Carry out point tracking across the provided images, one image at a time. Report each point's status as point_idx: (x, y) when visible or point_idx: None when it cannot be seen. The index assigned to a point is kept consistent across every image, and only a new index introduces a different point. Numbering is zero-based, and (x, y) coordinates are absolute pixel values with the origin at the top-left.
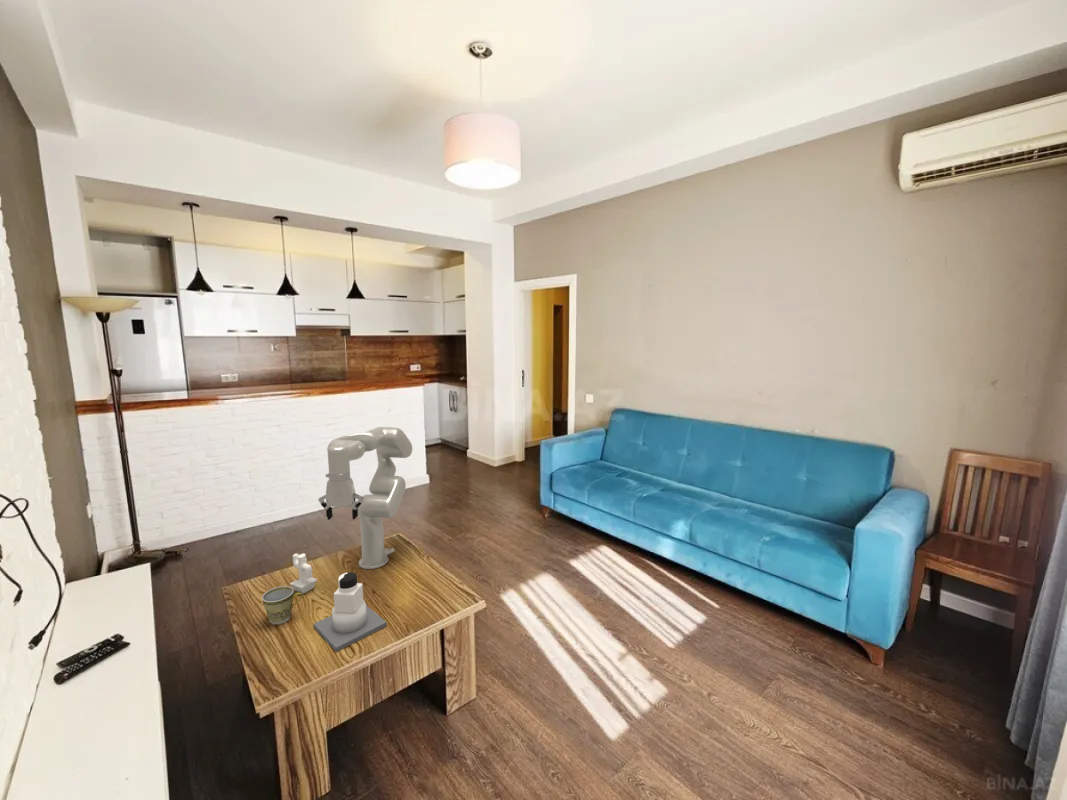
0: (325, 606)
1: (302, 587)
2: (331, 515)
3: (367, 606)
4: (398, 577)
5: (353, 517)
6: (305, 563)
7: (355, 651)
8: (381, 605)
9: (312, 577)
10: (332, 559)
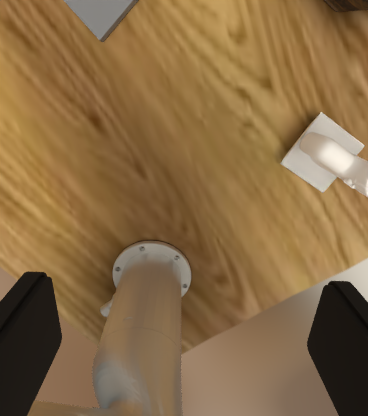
0: (220, 45)
1: (318, 116)
2: (322, 347)
3: (68, 4)
4: (52, 194)
5: (22, 286)
6: (345, 169)
7: None
8: (39, 35)
9: (299, 176)
10: (268, 292)
